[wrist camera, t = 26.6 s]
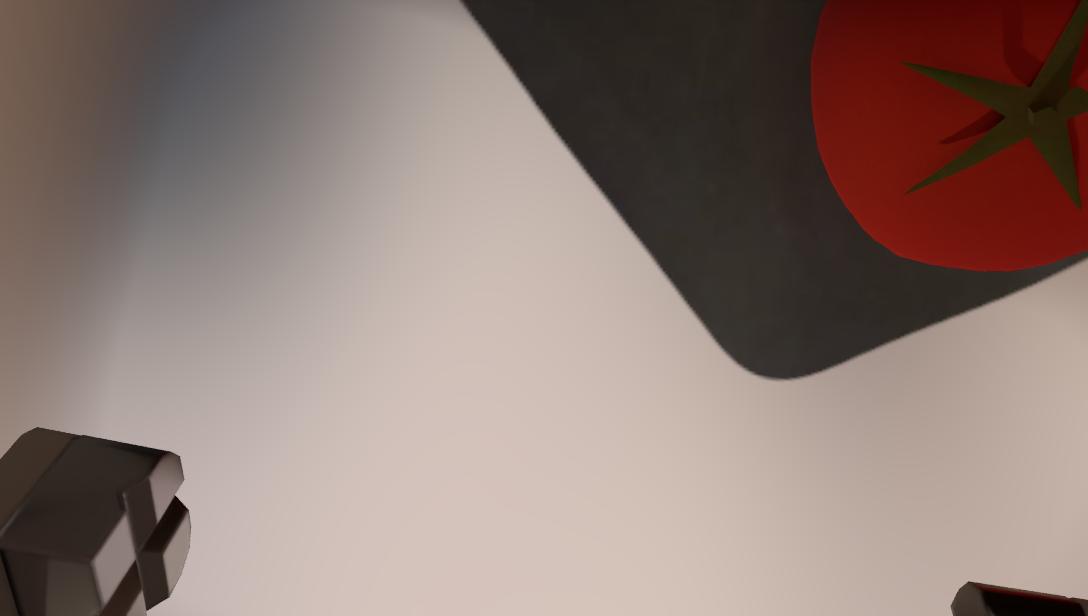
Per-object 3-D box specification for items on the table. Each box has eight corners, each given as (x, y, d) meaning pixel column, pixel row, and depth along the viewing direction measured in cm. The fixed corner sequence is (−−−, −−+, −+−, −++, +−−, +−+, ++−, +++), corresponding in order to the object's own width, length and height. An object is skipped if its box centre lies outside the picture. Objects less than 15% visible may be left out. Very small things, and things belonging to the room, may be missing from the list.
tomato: (1247, 29, 36) (1440, 167, 26) (894, 228, 42) (949, 399, 32) (1092, -280, 32) (1259, -247, 22) (724, -8, 38) (730, 108, 28)
